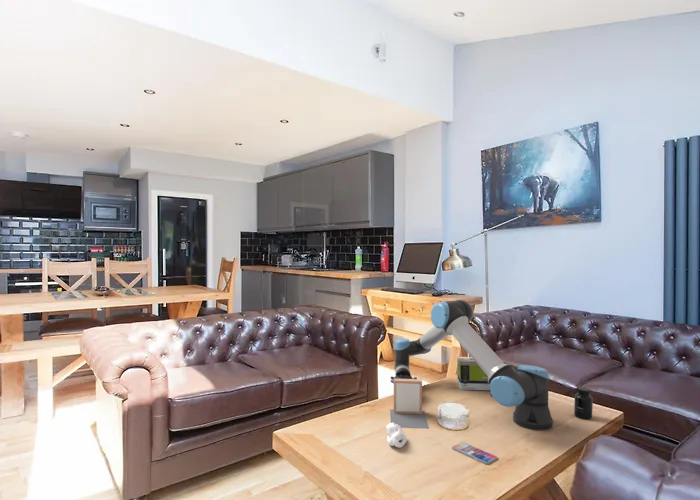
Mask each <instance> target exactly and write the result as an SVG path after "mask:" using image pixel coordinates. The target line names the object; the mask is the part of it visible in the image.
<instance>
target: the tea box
mask: <svg viewBox="0 0 700 500" xmlns="http://www.w3.org/2000/svg"><path fill="white" fill-rule="evenodd" d="M456 359H457V362H456V363H457V364H456V366H457V368H456V370H457V373H456V375H457V377H456V378H457V379H456V380H457V385H458V387H459V390H461V391H464V390H465V391H490V392H491V390H490V384H489V383H488V376H487V375H486V374H485V372H484V371H483V370H482V369H481V368H480V367H479V365H478V364H477V363H476V362H475V361H474V359H473V358H472V357H471V356H457V358H456Z"/></svg>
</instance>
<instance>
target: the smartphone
mask: <svg viewBox="0 0 700 500" xmlns="http://www.w3.org/2000/svg"><path fill="white" fill-rule="evenodd" d="M451 449H452V451H455V452H458V453H460V454H462V455H463V456H466V457H467V458H468V457H469V458H471V459H472V460H475V461H477V462H478V463H481V464H482V465H486V466H488V465H491V464H493V463H494V462H496V461H498V459H499V457H498V456H497V455H495V454H492V453H490V452H487V451H485V450H483V449H481V448H479V447H476V446H473V445H472V444H469V443H467V442H465V441H461V442H459V443H457V444H455V445H452V446H451Z"/></svg>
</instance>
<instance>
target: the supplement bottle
mask: <svg viewBox="0 0 700 500" xmlns="http://www.w3.org/2000/svg"><path fill="white" fill-rule="evenodd" d="M593 402H594V399H593V397H592V396H591V389H590V388H587V387H583V386H578V387H577V391H576V393H575V395H574V404H573V405H574V408H573V413H574V416H575V417H576V418H578V419H581V420H585V421H586V420H591V419H592V418H593V408H594V407H593V406H594V405H593V404H594V403H593Z"/></svg>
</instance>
